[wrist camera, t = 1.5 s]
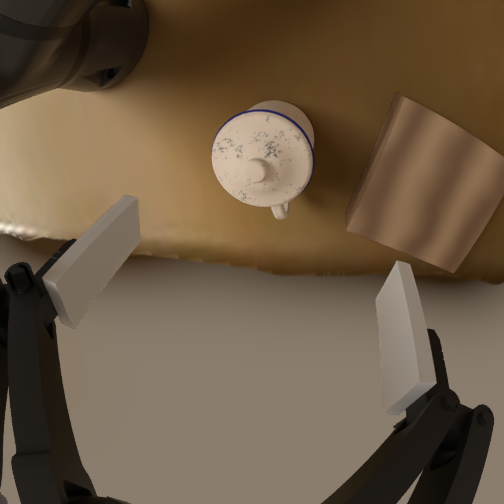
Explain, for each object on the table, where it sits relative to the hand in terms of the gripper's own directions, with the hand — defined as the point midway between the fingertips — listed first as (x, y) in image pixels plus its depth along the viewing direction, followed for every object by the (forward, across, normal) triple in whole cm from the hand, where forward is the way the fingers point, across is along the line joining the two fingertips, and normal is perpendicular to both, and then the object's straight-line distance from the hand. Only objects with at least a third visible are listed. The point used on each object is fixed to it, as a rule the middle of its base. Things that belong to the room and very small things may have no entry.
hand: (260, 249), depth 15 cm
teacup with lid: (+22, -2, -2) cm, 22 cm away
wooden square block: (+22, +17, -1) cm, 27 cm away
